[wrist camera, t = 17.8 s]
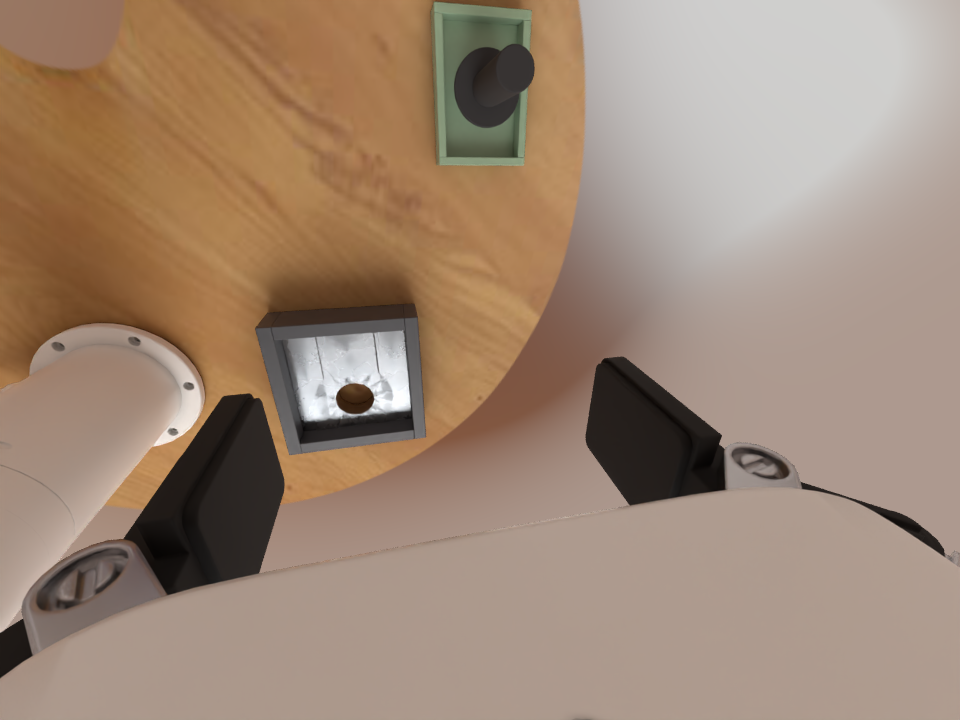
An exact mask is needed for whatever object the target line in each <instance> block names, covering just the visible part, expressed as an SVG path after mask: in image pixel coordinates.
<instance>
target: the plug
mask: <svg viewBox="0 0 960 720" xmlns="http://www.w3.org/2000/svg"><path fill="white" fill-rule="evenodd" d="M533 76H534V61H533V58H532V55H531V54H530V52H529V51H528V49H527V48H525V47H524V46H522V45H520V44H510V45H508V46H506V47H505V48H504V49H503V50H501V51H500V50H498V49H495V48H491V47H482V48H478V49H475V50H474V51H472V52H470V53H469V54H468V55H467V56H466V57H465V58H464V59H463V61H462V62H461V64H460V65H459V67H458V69H457V72H456V75H455V80H454V95H455V100H456V103H457V106H458V108H459V110H460V112H461V113H462V115H463V116H464V117H465V118H466V119H467V120H468V121H469V122H470V123H472V124H473V125H475V126H478V127H481V128H492V127H496V126H498V125H500V124H502V123H504V122H505V121H506V120H507V119H508V118H509V117H510V116H511V115H512V114H513V112H514V110H515V108H516V106H517V103H518V100H519V94H520V92H522V91H524V90H525V89H526V88H527V87H528V86H529V85H530V83H531V82H532V79H533Z"/></svg>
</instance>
